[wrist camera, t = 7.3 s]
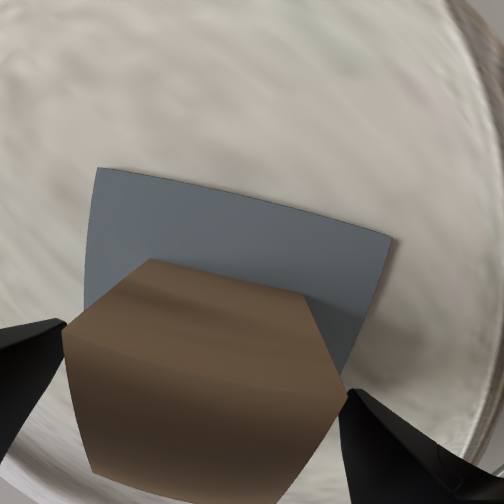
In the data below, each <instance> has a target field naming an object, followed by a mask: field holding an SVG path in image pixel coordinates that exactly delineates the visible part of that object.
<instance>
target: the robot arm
mask: <svg viewBox="0 0 504 504" xmlns="http://www.w3.org/2000/svg"><path fill="white" fill-rule="evenodd" d="M66 326H67V323H66V322H65V321H63V320H60V319H58V318H54V319H49V320H44V321H39V322H34V323H29V324H24V325H18V326H13V327H8V328H3V329H0V464H1V462H2V460H3V458H4V456H5V455H6V453H7V451H8V449H9V448H10V446H11V444H12V442H13V441H14V439H15V437H16V436H17V434H18V432H19V431H20V429H21V427H22V426H23V424H24V422H25V421H26V419H27V418H28V416H29V414H30V413H31V411H32V410H33V408H34V407H35V405H36V404H37V402H38V401H39V399H40V398H41V396H42V395H43V393H44V392H45V390H46V389H47V387H48V385H49V384H50V382H51V380H52V379H53V377H54V375H55V373H56V371H57V369H58V367H59V366H60V364H61V362H62V360H63V358H64V350H63V341H62V331H61V330H63V329H64V328H65V327H66ZM347 396H348V398H347V400H346V402H345V403H344V405H343V407H342V409H341V410H340V412H339V414H338V417H339V427H340V439H341V450H342V456H343V461H344V466H345V472H346V477H347V482H348V488H349V493H350V499H351V504H504V478H501V477H496V476H494V475H491V474H489V473H487V472H485V471H483V470H481V469H480V468H478V467H476V466H474V465H472V464H470V463H468V462H466V461H465V460H463V459H461V458H459V457H458V456H456V455H454V454H453V453H451V452H450V451H448V450H447V449H445V448H444V447H442V446H441V445H439V444H437V443H436V442H435V441H433V440H432V439H430V438H429V437H428V436H426V435H425V434H423V433H422V432H420V431H419V430H418V429H416V428H415V427H413V426H412V425H411V424H409V423H408V422H406V421H405V420H404V419H402V418H401V417H399V416H398V415H397V414H395V413H394V412H392V411H391V410H390V409H388V408H387V407H386V406H384V405H383V404H382V403H380V402H379V401H378V400H376V399H375V398H374V397H372V396H371V395H370V394H368V393H367V392H366V391H364V390H363V389H354V388H352V389H350V390H349V391H348V392H347Z"/></svg>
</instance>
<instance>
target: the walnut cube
mask: <svg viewBox="0 0 504 504" xmlns="http://www.w3.org/2000/svg"><path fill="white" fill-rule="evenodd" d="M61 331H62V341H63V350H64V358H65V365H66V371H67V377H68V383H69V388H70V393H71V398H72V403H73V407H74V412H75V416H76V420H77V424H78V428H79V431H80V435H81V438H82V442H83V445H84V448H85V452H86V455H87V458H88V461H89V464H90V466H91V469H92V472H93V473H95V474H98V475H100V476H103V477H105V478H108V479H110V480H113V481H115V482H118V483H121V484H124V485H127V486H130V487H133V488H136V489H139V490H142V491H145V492H149V493H152V494H156V495H159V496H163V497H167V498H171V499H175V500H180V501H184V502H189V503H194V504H276V503H277V502H278V501H279V500H280V498H281V497H282V496H283V495H284V493H285V492H286V491H287V490H288V488H289V487H290V486H291V484H292V483H293V482H294V480H295V479H296V478H297V476H298V475H299V474H300V472H301V471H302V470H303V468H304V467H305V465H306V464H307V463H308V461H309V460H310V458H311V457H312V455H313V454H314V452H315V451H316V449H317V448H318V446H319V445H320V443H321V442H322V440H323V439H324V437H325V435H326V434H327V432H328V431H329V429H330V427H331V426H332V424H333V422H334V421H335V419H336V417H337V416H338V414H339V412H340V410H341V409H342V407H343V405H344V403H345V402H346V400H347V398H348V396H347V393H346V391H345V388H344V386H343V384H342V381H341V379H340V377H339V375H338V372H337V370H336V368H335V365H334V363H333V361H332V358H331V356H330V354H329V352H328V349H327V347H326V345H325V343H324V340H323V338H322V336H321V334H320V331H319V329H318V327H317V325H316V323H315V320H314V318H313V316H312V314H311V311H310V309H309V307H308V305H307V303H306V301H305V298H304V296H303V294H302V293H299V292H294V291H290V290H285V289H280V288H275V287H271V286H266V285H262V284H257V283H253V282H248V281H244V280H239V279H235V278H230V277H226V276H222V275H217V274H213V273H209V272H204V271H200V270H196V269H192V268H188V267H184V266H179V265H175V264H171V263H167V262H163V261H159V260H155V259H151V258H150V259H148V260H147V261H146V262H144V263H143V264H142V265H140V266H139V267H138V268H137V269H135V270H134V271H133V272H131V273H130V274H129V275H128V276H126V277H125V278H124V279H123V280H121V281H120V282H119V283H118V284H116V285H115V286H114V287H113V288H111V289H110V290H109V291H108V292H106V293H105V294H104V295H103V296H102V297H100V298H99V299H98V300H97V301H96V302H94V303H93V304H92V305H91V306H90V307H88V308H87V309H86V310H85V311H84V312H82V313H81V314H80V315H79V316H78V317H77V318H75V319H74V320H73V321H72V322H71V323H70V324H68V325H67V326H66V327H65V328H64V329H63V330H61Z"/></svg>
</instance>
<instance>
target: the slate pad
mask: <svg viewBox="0 0 504 504" xmlns="http://www.w3.org/2000/svg"><path fill="white" fill-rule="evenodd" d="M391 241H392V237H390V236H388V235H385V234H382V233H378V232H375V231H372V230H369V229H365V228H362V227H359V226H355V225H352V224H349V223H345V222H342V221H338V220H335V219H331V218H328V217H324V216H321V215H317V214H313V213H310V212H306V211H302V210H298V209H295V208H291V207H287V206H283V205H279V204H275V203H271V202H267V201H263V200H259V199H255V198H251V197H247V196H243V195H238V194H234V193H230V192H225V191H221V190H216V189H212V188H207V187H203V186H198V185H193V184H189V183H184V182H179V181H174V180H169V179H164V178H159V177H153V176H148V175H143V174H137V173H132V172H126V171H120V170H114V169H108V168H99V167H97V172H96V177H95V183H94V189H93V195H92V201H91V208H90V216H89V224H88V234H87V245H86V258H85V277H84V311H85V310H86V309H87V308H88V307H90V306H91V305H92V304H93V303H94V302H96V301H97V300H98V299H99V298H100V297H102V296H103V295H104V294H105V293H106V292H108V291H109V290H110V289H111V288H113V287H114V286H115V285H116V284H118V283H119V282H120V281H121V280H123V279H124V278H125V277H126V276H128V275H129V274H130V273H131V272H133V271H134V270H135V269H137V268H138V267H139V266H140V265H142V264H143V263H144V262H146V261H147V260H148V259H150V258H151V259H155V260H159V261H163V262H167V263H171V264H175V265H179V266H184V267H188V268H192V269H196V270H200V271H204V272H209V273H213V274H217V275H222V276H226V277H230V278H235V279H239V280H244V281H248V282H253V283H257V284H262V285H266V286H271V287H275V288H280V289H285V290H290V291H294V292H299V293H302V294H303V296H304V298H305V301H306V303H307V305H308V307H309V309H310V311H311V314H312V316H313V318H314V320H315V323H316V325H317V327H318V329H319V331H320V334H321V336H322V338H323V340H324V343H325V345H326V347H327V349H328V352H329V354H330V356H331V358H332V361H333V363H334V365H335V368H336V370H337V372H338V375H340V373H341V371H342V369H343V367H344V365H345V363H346V361H347V358H348V356H349V354H350V352H351V349H352V347H353V345H354V343H355V340H356V338H357V336H358V333H359V331H360V329H361V326H362V324H363V321H364V319H365V316H366V314H367V311H368V309H369V306H370V303H371V301H372V298H373V295H374V293H375V290H376V287H377V284H378V281H379V278H380V276H381V273H382V270H383V267H384V264H385V261H386V257H387V254H388V251H389V248H390V244H391Z"/></svg>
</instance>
